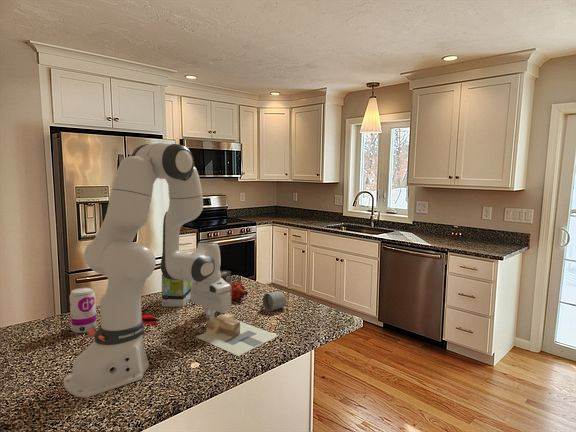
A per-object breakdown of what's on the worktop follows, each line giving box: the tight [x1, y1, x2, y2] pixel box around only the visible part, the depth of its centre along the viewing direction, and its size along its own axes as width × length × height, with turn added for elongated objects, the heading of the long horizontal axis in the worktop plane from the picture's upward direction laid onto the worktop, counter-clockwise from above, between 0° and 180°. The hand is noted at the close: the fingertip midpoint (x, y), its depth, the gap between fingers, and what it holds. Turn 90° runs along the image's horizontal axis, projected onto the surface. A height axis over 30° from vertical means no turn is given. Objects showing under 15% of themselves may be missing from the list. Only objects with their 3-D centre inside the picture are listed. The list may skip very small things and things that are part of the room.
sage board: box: [195, 319, 280, 357], centre depth 134 cm, size 20×22×1 cm
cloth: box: [141, 312, 159, 326], centre depth 152 cm, size 26×14×2 cm, turn 39°
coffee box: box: [215, 270, 232, 313], centre depth 161 cm, size 9×6×16 cm
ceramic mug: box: [261, 291, 287, 312], centre depth 164 cm, size 11×8×8 cm
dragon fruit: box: [231, 281, 248, 302], centre depth 176 cm, size 8×8×12 cm
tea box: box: [161, 274, 192, 308], centre depth 171 cm, size 15×10×15 cm
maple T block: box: [205, 312, 241, 337], centre depth 137 cm, size 11×10×4 cm
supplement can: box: [68, 287, 97, 334], centre depth 139 cm, size 8×8×15 cm
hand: (210, 318), depth 144 cm, fingers closed
